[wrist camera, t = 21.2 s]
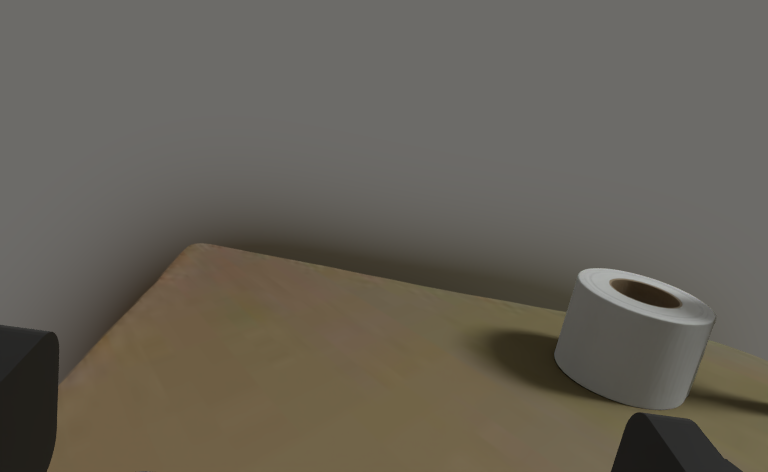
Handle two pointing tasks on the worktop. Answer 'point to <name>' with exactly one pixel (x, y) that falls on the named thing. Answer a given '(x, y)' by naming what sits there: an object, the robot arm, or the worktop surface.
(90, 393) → the worktop surface
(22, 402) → the robot arm
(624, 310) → the white toilet paper roll
